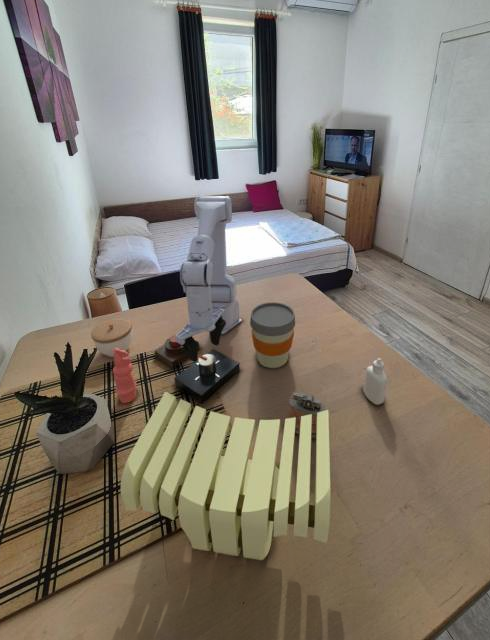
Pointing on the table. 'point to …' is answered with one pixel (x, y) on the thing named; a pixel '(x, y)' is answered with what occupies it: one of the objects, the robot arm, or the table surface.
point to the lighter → (305, 410)
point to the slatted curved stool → (228, 478)
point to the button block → (172, 354)
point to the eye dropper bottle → (375, 382)
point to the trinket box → (112, 336)
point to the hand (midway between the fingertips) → (204, 351)
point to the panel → (207, 378)
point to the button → (174, 341)
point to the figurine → (123, 376)
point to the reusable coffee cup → (272, 333)
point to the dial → (207, 364)
